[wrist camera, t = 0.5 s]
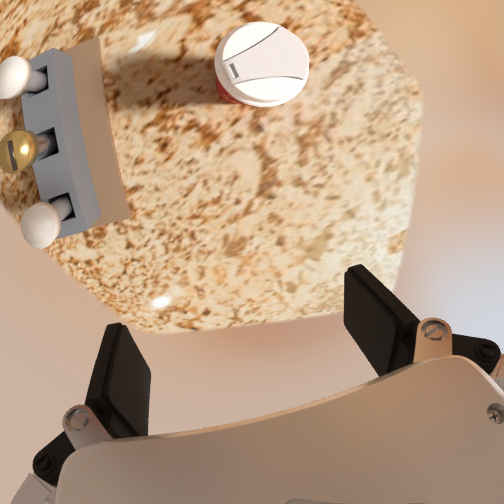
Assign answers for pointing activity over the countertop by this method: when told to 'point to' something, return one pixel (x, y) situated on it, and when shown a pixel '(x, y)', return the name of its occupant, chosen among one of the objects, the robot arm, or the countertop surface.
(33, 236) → the knob
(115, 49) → the countertop surface
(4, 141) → the pot knob
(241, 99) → the coffee cup
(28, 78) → the knob
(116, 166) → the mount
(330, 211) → the countertop surface
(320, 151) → the countertop surface
